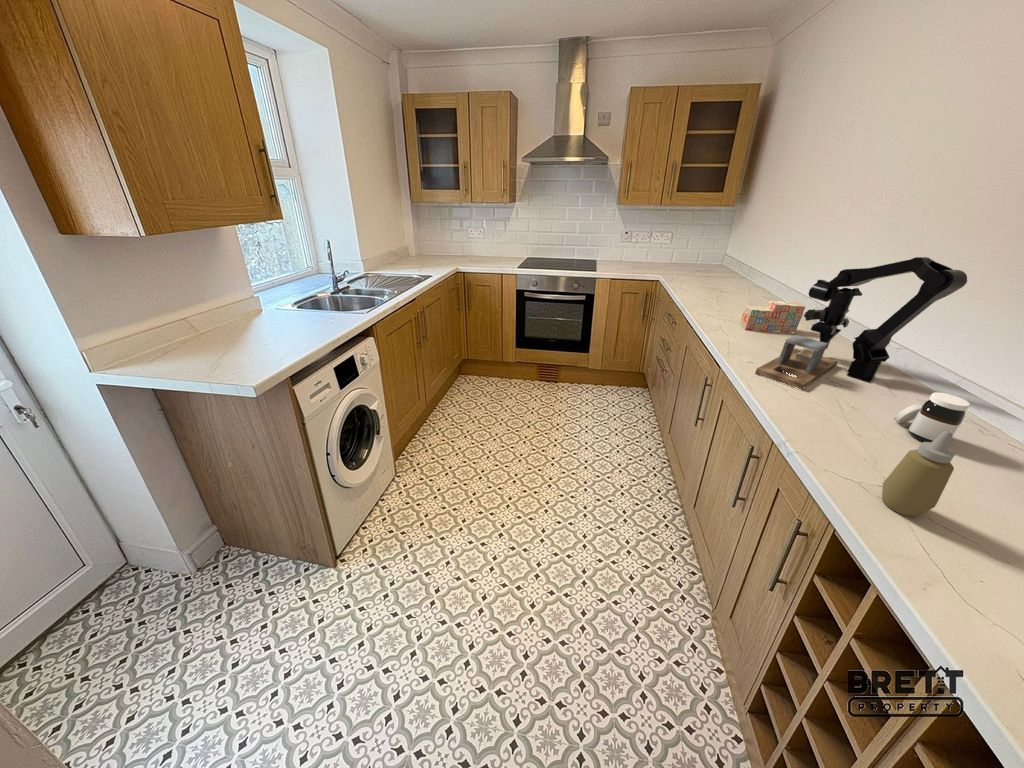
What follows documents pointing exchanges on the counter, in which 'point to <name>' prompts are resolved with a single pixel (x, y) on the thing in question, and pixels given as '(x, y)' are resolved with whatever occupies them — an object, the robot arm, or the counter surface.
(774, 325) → the stack of blocks
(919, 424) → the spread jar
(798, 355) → the sled
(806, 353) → the maple block
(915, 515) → the squeeze bottle
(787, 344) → the tunnel deck
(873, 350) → the robot arm
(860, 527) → the counter surface
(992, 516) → the counter surface
